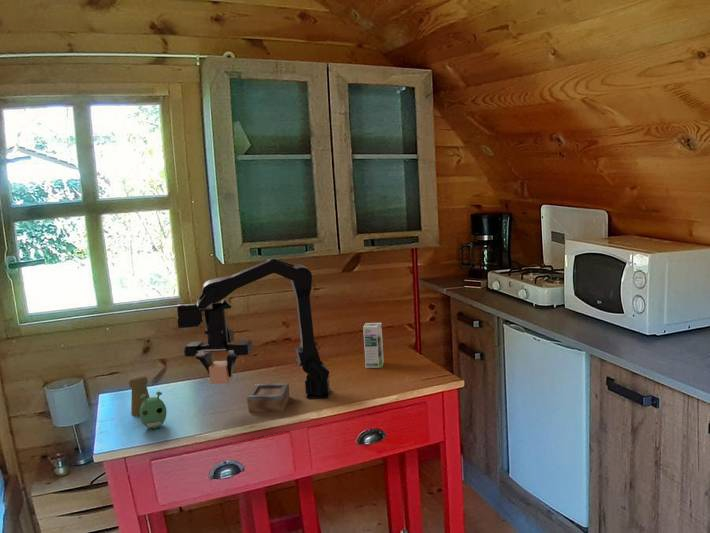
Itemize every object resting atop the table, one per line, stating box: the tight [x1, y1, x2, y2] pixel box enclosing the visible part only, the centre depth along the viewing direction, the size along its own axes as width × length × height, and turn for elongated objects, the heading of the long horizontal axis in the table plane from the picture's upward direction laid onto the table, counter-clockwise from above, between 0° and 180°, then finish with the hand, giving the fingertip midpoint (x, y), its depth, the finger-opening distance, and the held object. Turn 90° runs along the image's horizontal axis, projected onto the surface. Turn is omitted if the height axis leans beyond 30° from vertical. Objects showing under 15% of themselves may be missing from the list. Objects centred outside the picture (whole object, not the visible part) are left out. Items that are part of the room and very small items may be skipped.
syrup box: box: [362, 322, 385, 369], centre depth 202 cm, size 6×6×14 cm
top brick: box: [208, 360, 234, 385], centre depth 172 cm, size 5×5×5 cm
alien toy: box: [139, 391, 168, 429], centre depth 163 cm, size 7×8×10 cm
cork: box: [128, 374, 151, 417], centre depth 175 cm, size 6×6×11 cm
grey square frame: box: [246, 382, 291, 413], centre depth 175 cm, size 10×10×5 cm
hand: (221, 376), depth 172 cm, fingers closed on top brick, 5 cm apart
